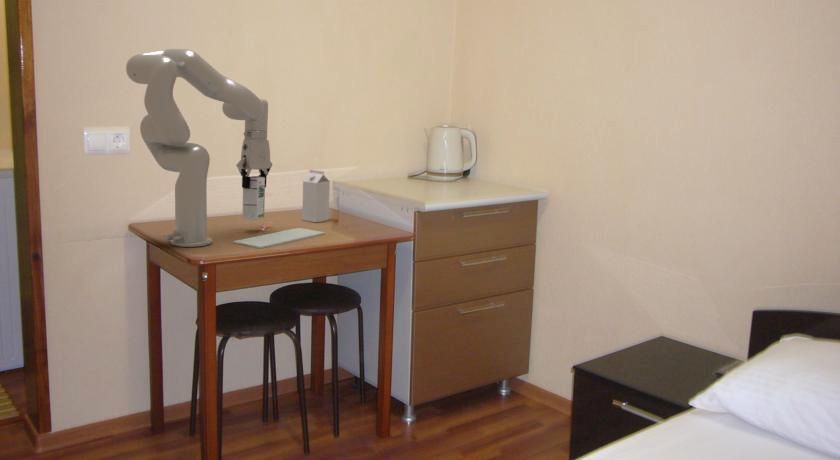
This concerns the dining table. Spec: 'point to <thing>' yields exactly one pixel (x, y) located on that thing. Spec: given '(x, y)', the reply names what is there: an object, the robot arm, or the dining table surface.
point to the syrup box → (254, 199)
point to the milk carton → (316, 197)
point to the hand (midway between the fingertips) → (254, 187)
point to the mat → (278, 238)
